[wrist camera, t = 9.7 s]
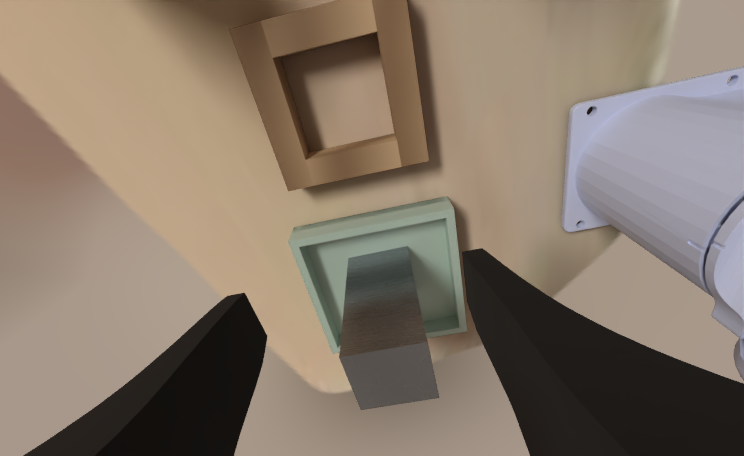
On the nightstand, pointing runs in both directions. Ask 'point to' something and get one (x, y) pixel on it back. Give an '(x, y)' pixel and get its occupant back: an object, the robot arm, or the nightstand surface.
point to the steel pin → (385, 332)
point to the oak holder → (276, 105)
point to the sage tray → (379, 233)
